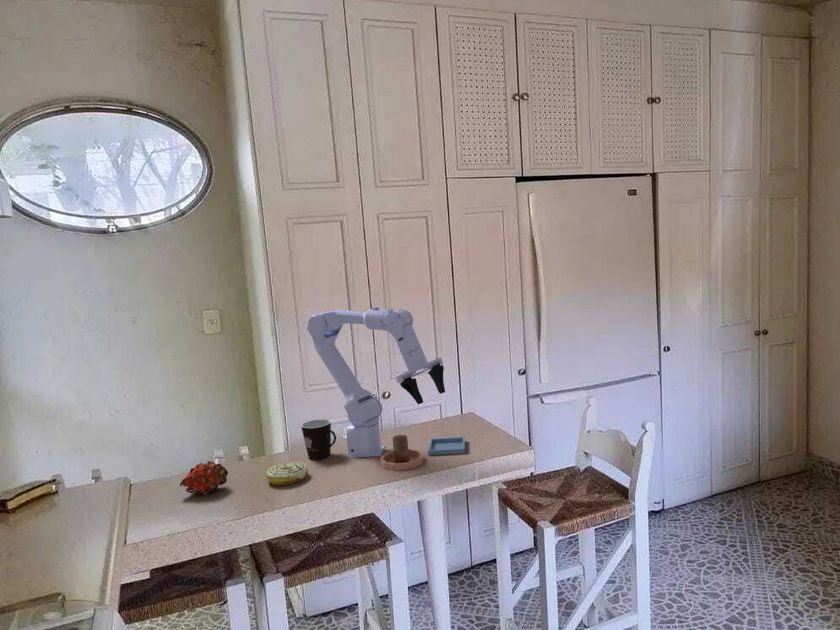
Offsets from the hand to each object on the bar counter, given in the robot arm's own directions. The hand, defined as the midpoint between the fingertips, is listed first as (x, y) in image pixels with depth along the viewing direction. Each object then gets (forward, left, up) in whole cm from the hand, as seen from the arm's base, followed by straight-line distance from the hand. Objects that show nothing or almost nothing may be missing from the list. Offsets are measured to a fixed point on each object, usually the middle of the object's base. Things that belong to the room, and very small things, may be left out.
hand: (431, 398), depth 156 cm
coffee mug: (-35, +7, -18) cm, 40 cm away
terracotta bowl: (-10, -1, -18) cm, 20 cm away
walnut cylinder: (-10, -1, -17) cm, 20 cm away
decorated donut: (-40, -8, -18) cm, 44 cm away
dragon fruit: (-60, -14, -18) cm, 64 cm away
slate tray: (+2, +8, -18) cm, 19 cm away
